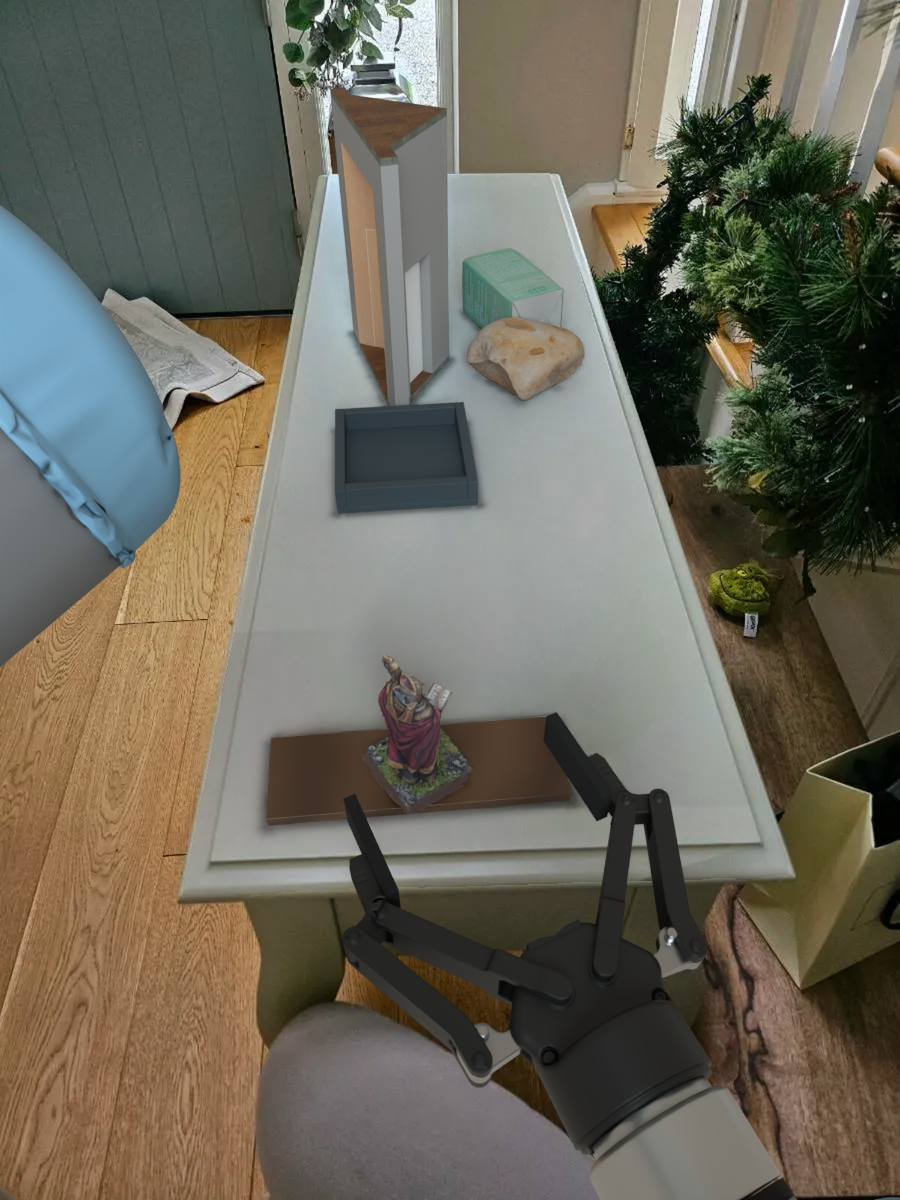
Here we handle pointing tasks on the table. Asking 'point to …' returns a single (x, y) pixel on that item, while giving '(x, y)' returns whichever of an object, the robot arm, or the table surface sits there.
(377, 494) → the dark grey square tray
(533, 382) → the stone
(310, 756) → the board
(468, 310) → the box
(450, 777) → the figurine
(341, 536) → the table surface
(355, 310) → the cabinet
